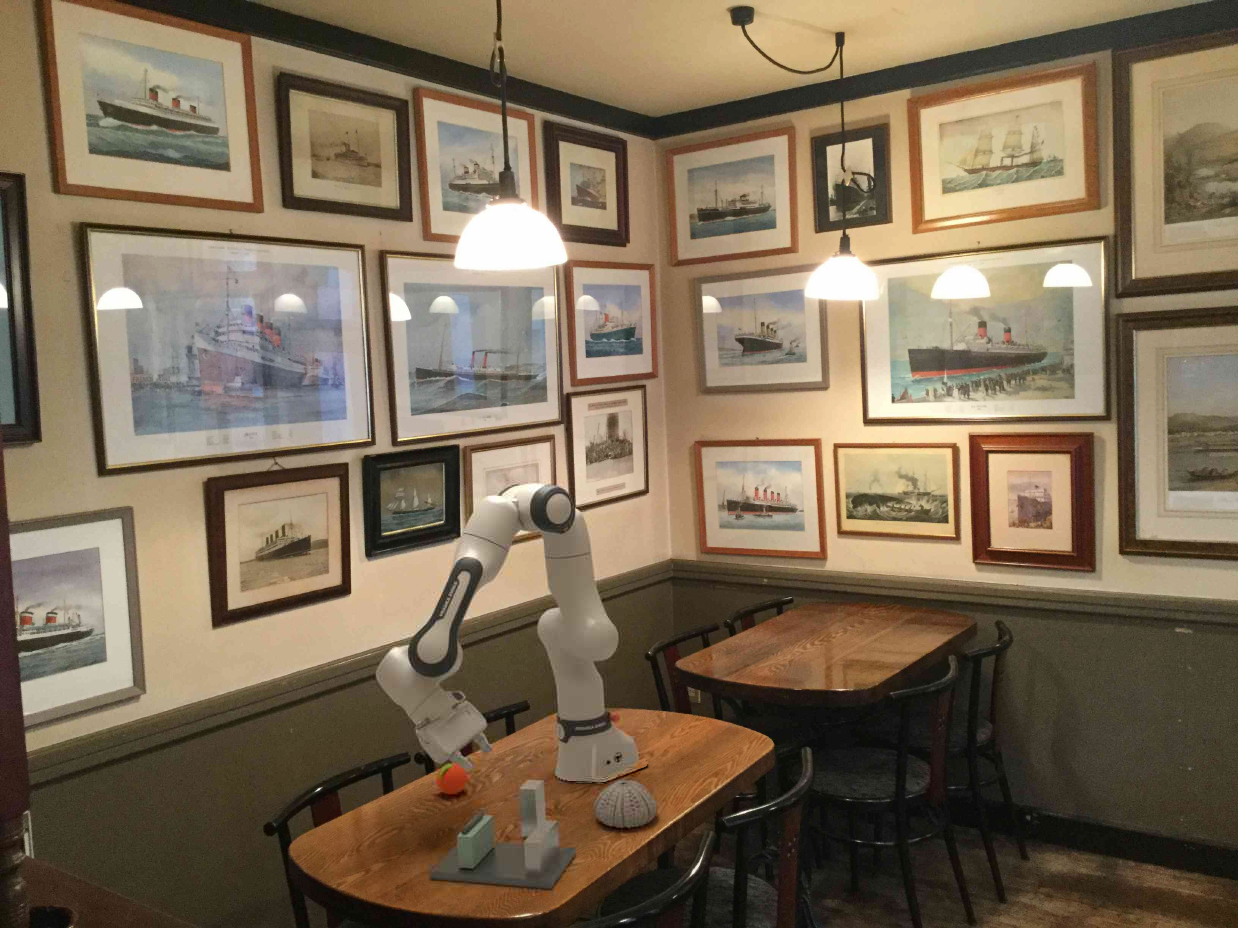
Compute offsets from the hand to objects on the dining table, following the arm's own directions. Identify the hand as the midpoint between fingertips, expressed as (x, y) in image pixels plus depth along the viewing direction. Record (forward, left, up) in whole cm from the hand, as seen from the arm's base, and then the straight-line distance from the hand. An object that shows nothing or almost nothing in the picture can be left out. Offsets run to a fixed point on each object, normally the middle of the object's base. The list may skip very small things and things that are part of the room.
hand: (480, 760), depth 209 cm
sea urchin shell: (-26, +14, -15) cm, 33 cm away
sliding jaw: (+8, +15, -13) cm, 21 cm away
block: (-8, +8, -15) cm, 18 cm away
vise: (+4, +19, -14) cm, 24 cm away
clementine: (-1, -23, -15) cm, 27 cm away
